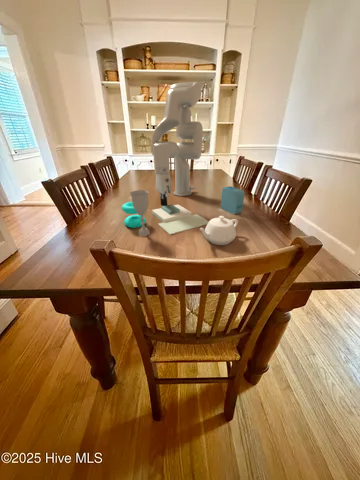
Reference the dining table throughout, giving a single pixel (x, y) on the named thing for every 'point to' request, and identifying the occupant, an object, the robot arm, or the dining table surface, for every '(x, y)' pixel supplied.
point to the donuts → (132, 216)
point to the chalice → (141, 208)
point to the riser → (166, 217)
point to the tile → (170, 209)
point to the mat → (183, 224)
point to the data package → (232, 200)
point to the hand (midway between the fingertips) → (164, 205)
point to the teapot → (220, 230)
